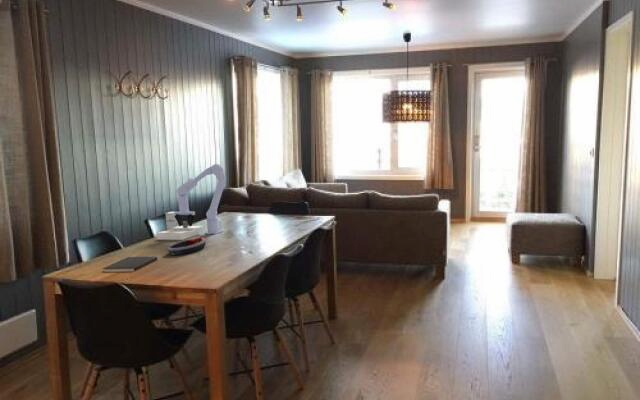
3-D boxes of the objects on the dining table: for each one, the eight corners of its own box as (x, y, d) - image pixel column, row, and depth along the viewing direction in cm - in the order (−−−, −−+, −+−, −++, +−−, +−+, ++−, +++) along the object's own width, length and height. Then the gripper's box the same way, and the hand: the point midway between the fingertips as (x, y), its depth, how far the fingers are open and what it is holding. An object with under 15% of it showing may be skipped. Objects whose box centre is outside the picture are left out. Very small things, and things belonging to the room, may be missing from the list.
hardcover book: (103, 273, 252) (102, 268, 252) (128, 261, 275) (128, 257, 274) (134, 272, 249) (134, 267, 249) (157, 261, 272) (157, 256, 271)
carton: (173, 235, 343) (172, 228, 343) (197, 235, 337) (196, 228, 336) (157, 240, 328) (156, 232, 328) (182, 240, 322) (181, 233, 321)
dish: (158, 256, 281) (157, 247, 280) (193, 244, 309) (192, 235, 309) (183, 257, 275) (182, 247, 275) (216, 245, 304) (215, 236, 303)
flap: (180, 226, 350) (179, 219, 350) (203, 226, 344) (203, 219, 343) (172, 228, 343) (172, 221, 342) (196, 228, 336) (196, 221, 336)
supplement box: (166, 231, 359) (164, 213, 357) (173, 229, 366) (171, 211, 364) (175, 231, 356) (174, 213, 354) (182, 229, 363) (180, 211, 361)
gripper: (170, 205, 338) (172, 227, 339) (189, 205, 332) (191, 227, 334) (176, 204, 344) (178, 225, 346) (196, 204, 339) (198, 225, 341)
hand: (185, 226), depth 340 cm, fingers open, 7 cm apart
